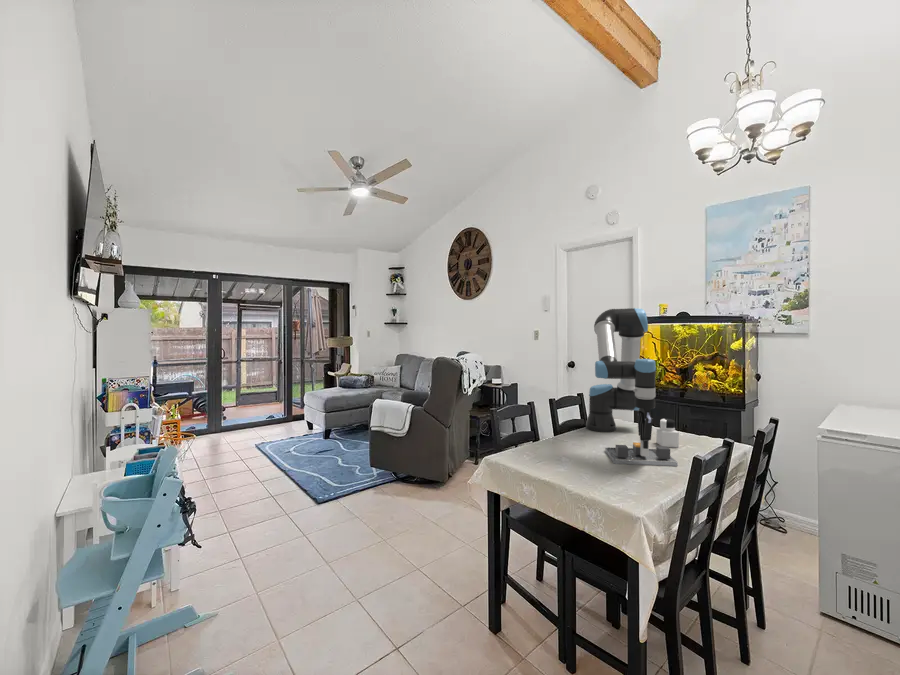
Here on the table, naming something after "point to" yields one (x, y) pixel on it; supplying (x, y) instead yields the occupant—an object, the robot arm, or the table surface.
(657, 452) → the block
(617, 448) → the breaker
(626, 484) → the table surface
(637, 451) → the block
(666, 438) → the medicine bottle
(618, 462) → the panel
